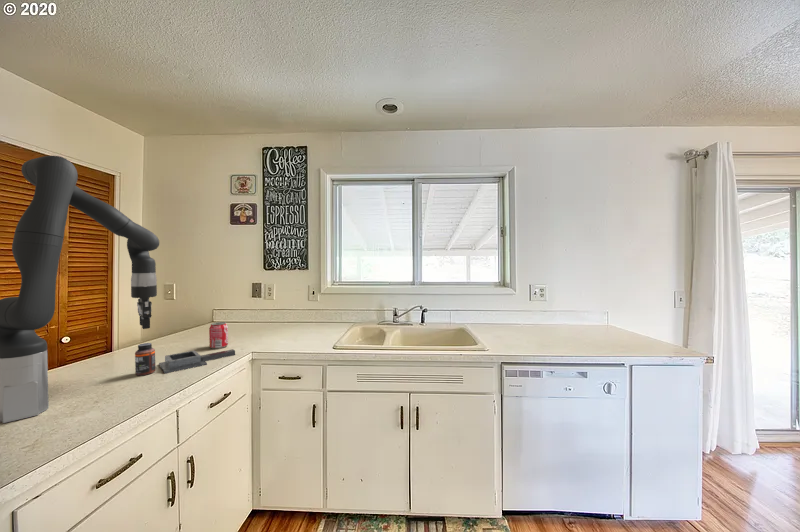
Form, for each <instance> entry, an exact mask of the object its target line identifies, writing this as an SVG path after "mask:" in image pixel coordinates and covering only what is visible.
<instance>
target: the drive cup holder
mask: <svg viewBox="0 0 800 532" xmlns="http://www.w3.org/2000/svg"><path fill="white" fill-rule="evenodd" d="M232 356H236V350H235V349H228V350H223V351H218V352H212V353H207V354H202V355H200V354H199V353H198V352H197V351H196V350H188V351H184V352H183V351H182V352H179V353H178V352H177V353H172V354H168V355H164V361H162V362H161V361H160V362H159V363H158V366H159V367H160V369H161V371H162V372H163V374H165V375H166V374H171V373H174V371H175V372H179V370H180V371H183V369H184V370H189V369H193V367H194V368H196V367H197V366H198V367H201V366H202V365H203V366H207V365H208V363H207V362H208V361H211V360H217V359H222V357H223V358H226V357H232ZM203 366H202V367H203ZM188 368H189V369H188Z"/></svg>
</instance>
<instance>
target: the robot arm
mask: <svg viewBox="0 0 800 532" xmlns="http://www.w3.org/2000/svg"><path fill="white" fill-rule="evenodd" d="M21 173H22V174H21V175H22V176H23V177H24V179H25V180H26V181H28V183H30V184H31V185H33V186H35V188H34V189H35V190H34V194H33V196H32V197H33V198H32V199H31V202H30V203H29V205H28V206H27V208H26V209H25V211H24V212H23V214H22V215H21V217H20V219H19V221H18V222H17V224H16V227H15V230H14V234H13V239H12V244H11V251H12V256H13V259H14V261H15V263H16V265H17V268H18V270H19V273H20V276H21V283H20V289H19V293H18V296H7V297H4V298H1V299H0V422H1V423H2V424H5V423H10V422H15V421H17V420H18V421H19V420H22V419H26V418H30V417H34V416H38V415H40V414H41V413H43V412H45V411H47V410H48V409H49V407H50V406H49V376H48V374H49V371H48V370H49V368H48V367H49V366H48V343H47V340H46V339H44V338H42V337H40V335H39V334H37V333H36V330H39V329H42V328H44V327H46V326H47V325H48V324H49V323H50V322H51V321H52V319H53V317H54V314H55V309H56V287H57V276H58V270H59V263H60V257H61V253H62V250H63V249H62V248H63V244H64V237H65V230H66V223H67V219H68V218H67V217H68V214H69V213H68V212H69V206H71V207H74V208H75V209H77V210H79V211H80V212H82V213H83V214H85V215H86V216H88V217H90V218H91V219H93V221H95V222H96V223H98V224H99V225H101V226H102V227H104V228H105V229H107V230H108V231H110V232H111V233H112V234H114V235H116V236H118V237H123V238H126V239H127V240H126V248H127V252H128V255H129V258H130V260H131V261H130V262H131V275H130V276H131V277H130V297H131V298H132V299H137V302H136V303H137V305H136V306H137V313H138V316H139V326H141V329H143V330H147V329H151V318H152V312H153V311H152V310H153V309H152V301H150V298H156V297H157V296H158V295H157V294H158V290H157V289H158V288H157V287H158V286H157V285H158V283H157V281H158V279H157V274H156V273H157V272H156V269H157V268H156V266H157V264H156V260H155V259H154V258H153V257H151V256H150V252H152V251H155V250H157V249H158V248H159V246H160V240H159V238H158V236H157V235H156V234H155V233H154V232H152V231H151V230H149V229H147V228H146V227H144V226H142V225H140V224H139V223H137V222H134V221H133V220H132V219H131V218H129V217H128V216H126V215H125V214H124V213H123V212H121V211H120V210H119V209H118V208H116V207H114V206H113V205H111V204H109V203H107V202H105V201H103V200H100V198H97V197H95V196H93V195H91V194H90V193H88V192H86V191H84V190H83V189H82V188H80V187H79V186H77V182H78V178H79V177H78V170H77V168H76V166H75V165H74V164H73V162H71V160H68V159H67V158H66V157H63V156H59V155H44V156H38V157H36V158H31V159H29V160H27V161H25V162H24V163H23V164H22V165H21Z"/></svg>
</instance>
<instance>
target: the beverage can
mask: <svg viewBox="0 0 800 532" xmlns="http://www.w3.org/2000/svg"><path fill="white" fill-rule="evenodd" d="M208 330H209V337H208V338H209V339H208V340H209V341H208V343H209V348H211V349H212V350H218V349H219V348H220V349H224V348H226V347H227V346H228V345H229V327H228V324H227V322H226V321H217V322H212V323H210V326H209V328H208Z"/></svg>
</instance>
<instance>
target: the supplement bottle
mask: <svg viewBox="0 0 800 532" xmlns="http://www.w3.org/2000/svg"><path fill="white" fill-rule="evenodd" d="M152 346H153V345H152V343H151V342H143V343H139V344H138V345H137V350H135V353H134V363H135V365H134V366H135V367H134V368H135V376H139V377H140V376H147V375H151V374H153V373H155V371H156V349H155V348H153V347H152Z"/></svg>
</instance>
